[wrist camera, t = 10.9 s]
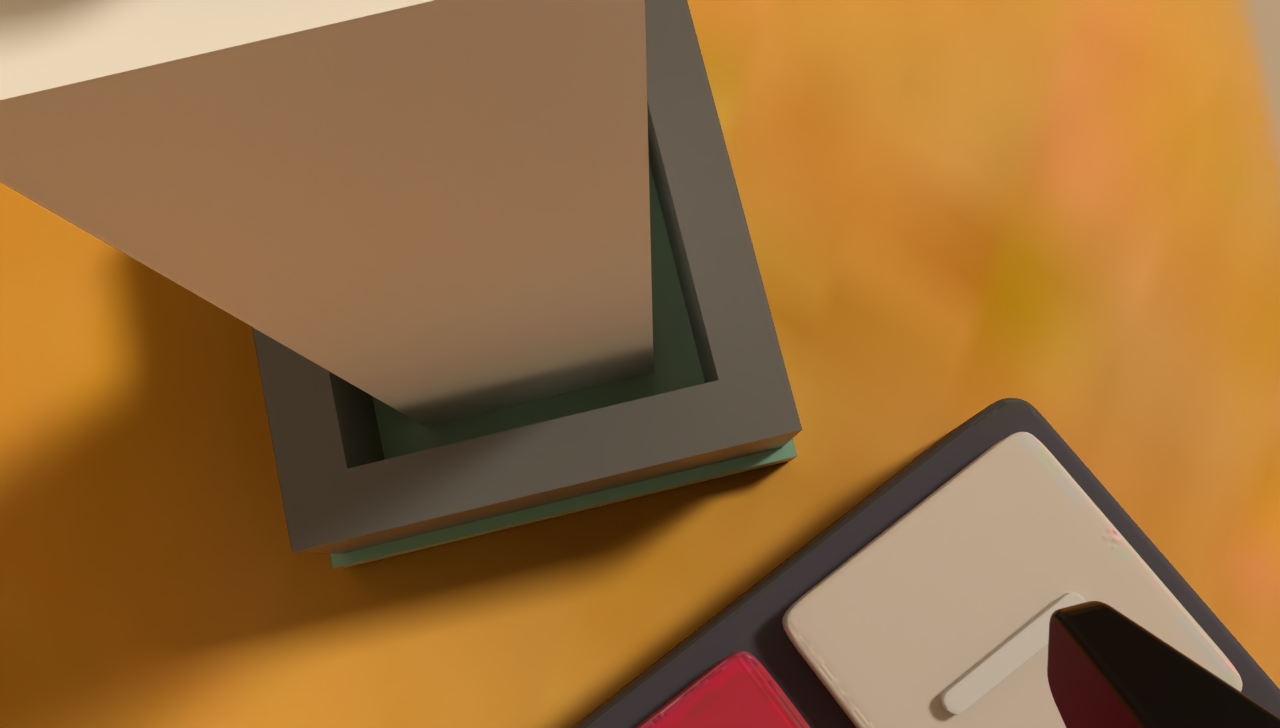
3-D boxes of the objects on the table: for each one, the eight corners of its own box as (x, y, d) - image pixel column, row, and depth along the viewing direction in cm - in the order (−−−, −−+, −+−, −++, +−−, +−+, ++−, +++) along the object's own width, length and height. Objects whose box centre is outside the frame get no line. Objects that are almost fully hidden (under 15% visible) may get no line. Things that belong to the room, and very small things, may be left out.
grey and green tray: (791, 460, 19) (818, 439, 16) (345, 568, 19) (281, 569, 16) (682, 48, 20) (687, -48, 17) (267, 144, 20) (192, 64, 17)
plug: (653, 371, 19) (640, -204, 5) (425, 426, 18) (-304, 7, 4) (600, 156, 19) (447, -913, 5) (380, 208, 19) (-369, -741, 5)
